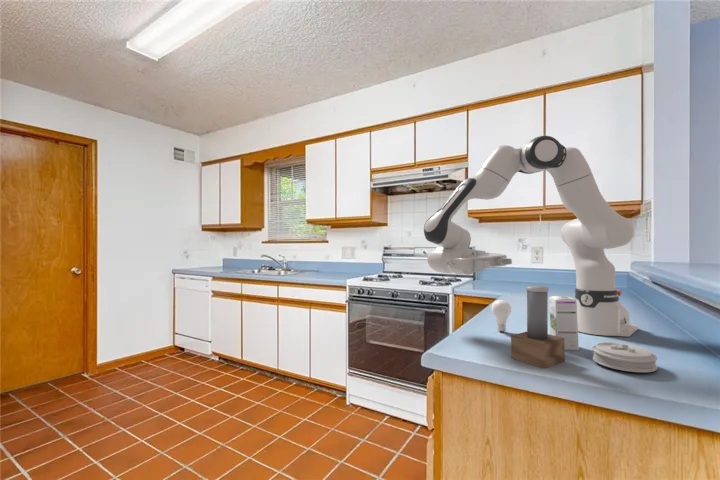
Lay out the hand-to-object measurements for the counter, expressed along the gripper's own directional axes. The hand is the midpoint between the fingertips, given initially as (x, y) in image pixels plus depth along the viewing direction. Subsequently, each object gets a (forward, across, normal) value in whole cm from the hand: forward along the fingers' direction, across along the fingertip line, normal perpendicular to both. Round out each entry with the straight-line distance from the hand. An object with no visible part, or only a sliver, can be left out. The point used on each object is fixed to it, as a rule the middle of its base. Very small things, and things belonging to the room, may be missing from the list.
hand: (500, 262), depth 105 cm
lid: (+28, +8, +26) cm, 39 cm away
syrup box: (+12, +11, +25) cm, 30 cm away
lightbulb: (-9, +11, +25) cm, 29 cm away
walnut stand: (+14, -5, +25) cm, 29 cm away
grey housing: (+14, -5, +19) cm, 24 cm away
